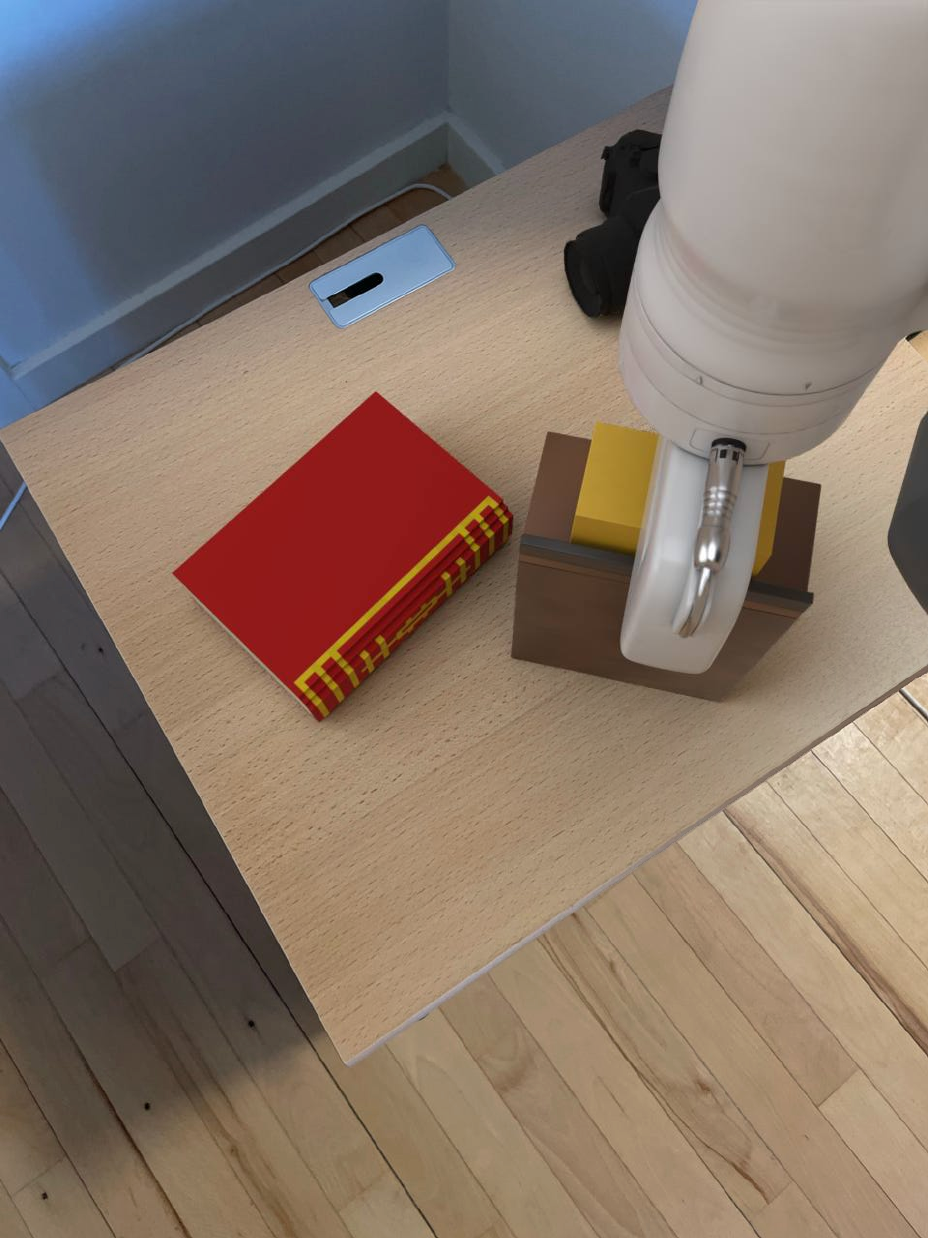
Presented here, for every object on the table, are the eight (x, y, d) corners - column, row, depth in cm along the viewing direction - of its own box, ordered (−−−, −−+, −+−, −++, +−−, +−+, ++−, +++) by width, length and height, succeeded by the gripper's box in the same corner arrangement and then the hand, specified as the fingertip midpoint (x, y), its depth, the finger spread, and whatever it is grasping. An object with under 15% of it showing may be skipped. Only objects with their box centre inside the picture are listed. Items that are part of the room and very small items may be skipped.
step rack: (748, 525, 68) (829, 392, 52) (720, 703, 64) (799, 619, 48) (550, 485, 69) (568, 343, 53) (510, 657, 65) (518, 561, 49)
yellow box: (588, 456, 50) (596, 420, 47) (766, 491, 49) (786, 458, 46) (569, 544, 48) (575, 514, 45) (752, 583, 48) (771, 555, 44)
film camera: (529, 228, 77) (534, 137, 68) (639, 184, 78) (657, 89, 69) (619, 380, 72) (637, 303, 63) (735, 331, 73) (768, 249, 65)
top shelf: (815, 492, 50) (830, 472, 48) (799, 619, 48) (813, 603, 46) (546, 439, 51) (548, 418, 49) (518, 561, 49) (519, 543, 47)
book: (321, 726, 64) (308, 707, 59) (194, 599, 67) (171, 573, 62) (511, 539, 68) (513, 508, 63) (383, 428, 71) (375, 390, 66)
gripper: (805, 626, 31) (709, 725, 44) (871, 123, 37) (770, 340, 50) (605, 585, 31) (569, 694, 44) (703, 96, 38) (647, 318, 51)
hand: (676, 503), depth 47 cm, fingers closed on yellow box, 5 cm apart
